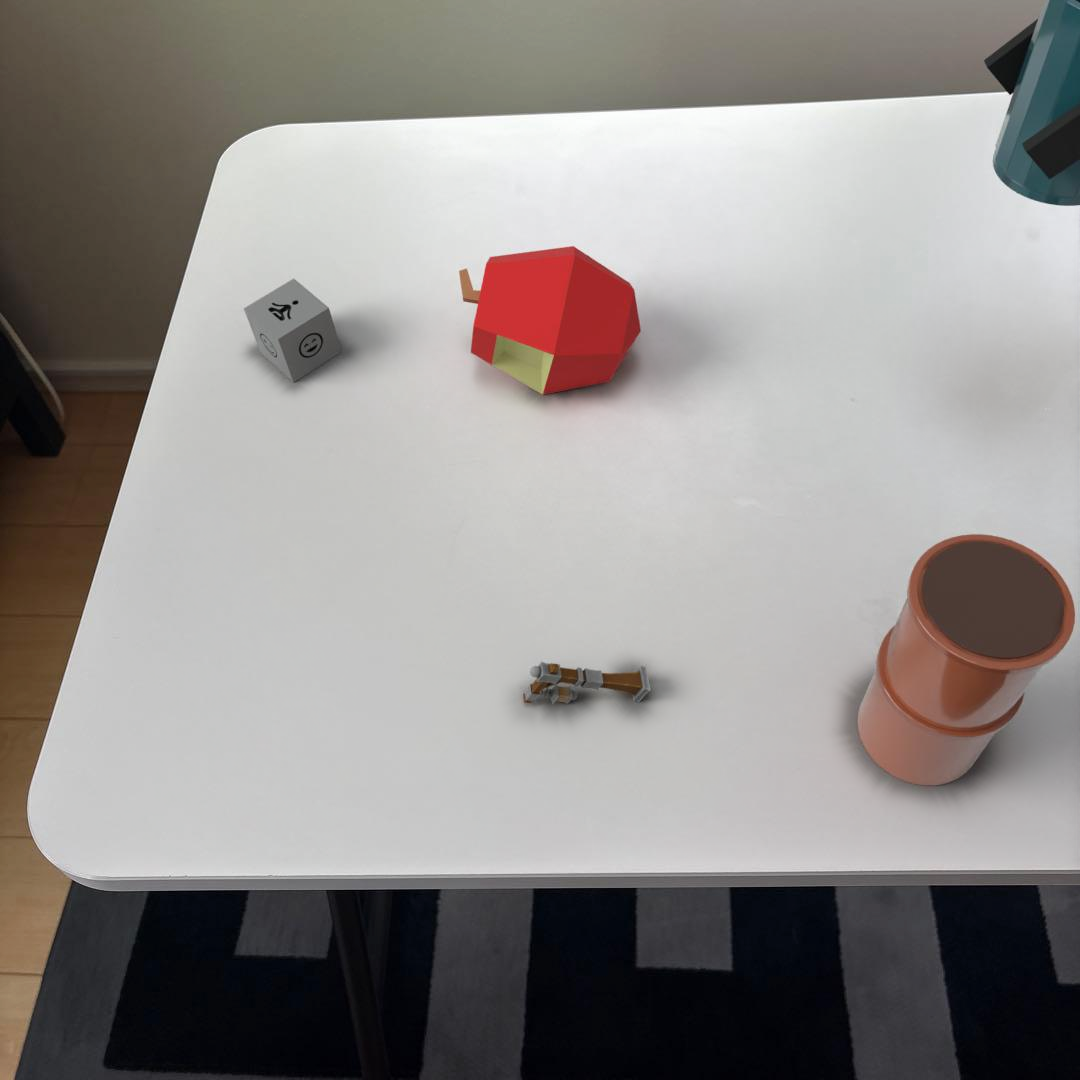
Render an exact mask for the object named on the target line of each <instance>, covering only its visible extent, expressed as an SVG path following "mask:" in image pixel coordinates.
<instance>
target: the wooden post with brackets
mask: <svg viewBox="0 0 1080 1080" xmlns="http://www.w3.org/2000/svg"><path fill="white" fill-rule="evenodd" d="M529 675H530V676H531V677H533V678H535V680H534V681H533V682H532V683H529V685H528V686H527V687H526V690H525V691H524V692H523V694H522V697H523V698H522V699H523V703H524V704H532V703H533V701H535V700H537V699H538V698H539V697H540V696H544V698H545V699H548V698H550V700H551V705H554V704H555V703H556V702H559V703H560V702H561V703H565V704H566V705H568V704H569V703H570V702H571V701H576V699H577V698H578V695H579V694H578V692H577V691H576V690H575V689H572V686H573V688H577V689H578V688H580V689H590V690H596V691H598V690H599V689H606V690H607V689H608V690H612V691H618V692H621V693H626V694H629V695H632V700H633V702H635V701H636V702H638V703H639V702H640V701H642V699H643V698H644V697H645V696H646V695H647V694H648V693H649V692H650V691H651V686H650V681H649V675H648V669H647V665H643V666H642V665H639V667H638V669H636V670H635V671H633V672H613V673H612V672H611V673H609V672H603V671H602V669H601V670H600V669H598V670H597V669H589V668H587V667H585V668H584V669H583V667H582V666H581V667H579V666H578V667H576V669H575V668H569V667H568V668H567V667H561V664H560V663H553V662H552V663H551V662H550V663H548V662H544V661H541V662H540V663H539V664H538V665H534V666H532V667H531V668H530V669H529ZM561 683H563V684H569V685H568V686H563V685H562V686H560V685H559V684H561Z"/></svg>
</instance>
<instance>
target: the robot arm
mask: <svg viewBox="0 0 1080 1080" xmlns="http://www.w3.org/2000/svg"><path fill="white" fill-rule="evenodd" d="M1037 21H1038V18H1037V19H1035V20H1034V21H1032V22H1031V23H1030V24H1029V25H1027V27H1025V28H1024V29H1022V30H1021V31H1020V32H1019V33H1017V34H1016V35H1015V36H1013V37H1012V38H1011V39H1010V40H1008V41H1007V42H1005V43H1004V44H1003V45H1002V46H1000V47H998V49H997V50H995V51H994V52H993V53H991V54H990V55H989V56H987V57H986V58H985V59H984V60H983V62H984V64H985V67H986V68H987V69H988V71H989V72H990V73H991V74H992V75H993V77H994V78H995V79H996V80H997V81H998V83H999V84H1000V85H1001V87H1003V89H1004V90H1005V91H1006V92H1007V94H1008V95H1009V96H1011V95H1013V92H1014V89H1015V86H1016V83H1017V80H1018V77H1019V74H1020V71H1021V68H1022V66H1023V63H1024V60H1025V57H1026V54H1027V51H1028V48H1029V45H1030V42H1031V39H1032V36H1033V33H1034V30H1035V27H1036V24H1037ZM1022 145H1023V147H1024V149H1025V151H1026V153H1027V154H1028V155H1029V156H1030V157H1031V158H1032V160H1033V161H1034V162H1035V163H1036V164H1037V166H1038V167H1039V168H1040V169H1041V170H1042V171H1043V173H1044V174H1045V175H1046V176H1047V177H1048V178H1049V180H1050V179H1051V178H1053V177H1054V176H1056V175H1057V174H1059V173H1060V172H1062V171H1063V170H1065V169H1066V168H1068V167H1069V166H1071V165H1072V164H1074V163H1075V162H1077V161H1078V160H1080V103H1079V104H1077V105H1076V106H1075V107H1073V108H1072V109H1070V110H1069V111H1067V112H1066V113H1065V114H1063V115H1062V116H1060V117H1059V118H1057V119H1056V120H1055V121H1053V122H1052V123H1050V124H1049V125H1048V126H1046V127H1045V128H1043V129H1042V130H1040V131H1039V132H1038V133H1036V134H1035V135H1033V136H1032V137H1030V138H1029V139H1028V140H1026V141H1025V142H1023V143H1022Z"/></svg>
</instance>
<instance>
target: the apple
mask: <svg viewBox="0 0 1080 1080" xmlns="http://www.w3.org/2000/svg"><path fill="white" fill-rule="evenodd" d="M486 261H487V262H486V263H485V267H484V272H483V277H482V281H481V285H480V286H481V287H480V290H477V289H474V287H473V284H472V281H471V277H470V274H469V271H468V268H467V267H466V268H463V269H460V270H458V274H459V281H460V287H461V288H460V289H461V295H462V296H461V297H462V302H465V303H470V304H474V305H475V304H476V305H477V307H476V310H475V316H474V321H473V325H472V327H473V328H472V336H471V345H470V354H472V355H473V356H476V357H477V358H479V359H481V360H483V361H484V362H486V363H487V364H489V365H491V366H493V367H494V368H496V369H498V370H499V371H501V372H503V373H505V374H506V375H508V376H510V377H512V378H513V379H515V380H517V381H519V382H520V383H522V384H523V385H525V386H526V387H529V388H530V389H532V390H533V391H535V392H538V393H539V394H541V396H544V395H548V394H553V393H558V392H559V393H560V392H564V391H568V390H573V389H578V388H579V389H580V388H583V387H588V386H594V385H598V384H603V383H608V382H610V381H611V380H612V378H613V377H614V375H615V373H616V371H617V370H618V368H619V367H620V365H621V363H622V362H623V360H624V359H625V357H626V356H627V354H628V353H629V351H630V349H631V348H632V346H633V344H634V343H635V341H636V340H637V338H638V336H639V335H640V333H641V332H642V327H641V324H640V318H639V317H640V316H639V312H638V310H639V309H638V304H637V298H636V292H635V288H634V287H633V286H632V284H631V283H630V282H629V281H628V280H626V279H625V278H623V277H622V276H621V275H618V274H617V273H615V272H614V271H612V270H611V269H609V268H608V267H606V266H604V265H603V264H602V263H600V262H599V261H597V260H596V259H594V258H592V257H591V256H589V255H588V254H586V253H585V252H583V251H582V250H580V249H578V248H577V247H575V246H574V245H572V246H563V247H557V248H549V249H540V250H533V251H532V250H531V251H525V252H516V253H510V254H502V255H493V256H489V258H488V260H486Z"/></svg>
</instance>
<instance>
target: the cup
mask: <svg viewBox="0 0 1080 1080" xmlns="http://www.w3.org/2000/svg"><path fill="white" fill-rule="evenodd" d="M1037 19H1038V21H1037V24H1036V27H1035V30H1034V33H1033V36H1032V39H1031V42H1030V45H1029V48H1028V51H1027V54H1026V57H1025V60H1024V63H1023V66H1022V68H1021V71H1020V74H1019V77H1018V80H1017V83H1016V86H1015V89H1014V92H1013V93H1012V94H1011V95H1012V96H1011V98H1010V101H1009V104H1008V107H1007V110H1006V113H1005V116H1004V119H1003V122H1002V125H1001V128H1000V131H999V134H998V136H997V140H996V142H995V149H994V152H993V155H992V166H993V170H994V173H995V174H996V176H997V177H998V179H999V180H1000V181H1001V182H1002V183H1003V184H1004V185H1005V186H1006V187H1008V188H1009V190H1012V191H1013V192H1015V193H1016V194H1019V195H1021V196H1022V197H1024V198H1026V199H1029V200H1031V201H1034V202H1039V203H1042V204H1047V205H1053V206H1060V207H1061V206H1062V207H1064V206H1065V207H1075V206H1076V207H1077V206H1080V160H1078V161H1077V162H1075V163H1074V164H1072V165H1071V166H1069V167H1068V168H1066V169H1065V170H1063V171H1062V172H1060V173H1059V174H1057V175H1056V176H1054V177H1053V178H1051V179H1050V180H1049V178H1048V177H1047V176H1046V175H1045V174H1044V173H1043V171H1042V170H1041V169H1040V168H1039V167H1038V166H1037V164H1036V163H1035V162H1034V161H1033V160H1032V158H1031V157H1030V156H1029V155H1028V154H1027V153H1026V151H1025V149H1024V147H1023V145H1022V143H1023V142H1025V141H1026V140H1028V139H1029V138H1030V137H1032V136H1033V135H1035V134H1036V133H1038V132H1039V131H1040V130H1042V129H1043V128H1045V127H1046V126H1048V125H1049V124H1050V123H1052V122H1053V121H1055V120H1056V119H1057V118H1059V117H1060V116H1062V115H1063V114H1065V113H1066V112H1067V111H1069V110H1070V109H1072V108H1073V107H1075V106H1076V105H1077V104H1079V103H1080V0H1043V4H1042V7H1041V10H1040V13H1039V16H1038V17H1037Z"/></svg>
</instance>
